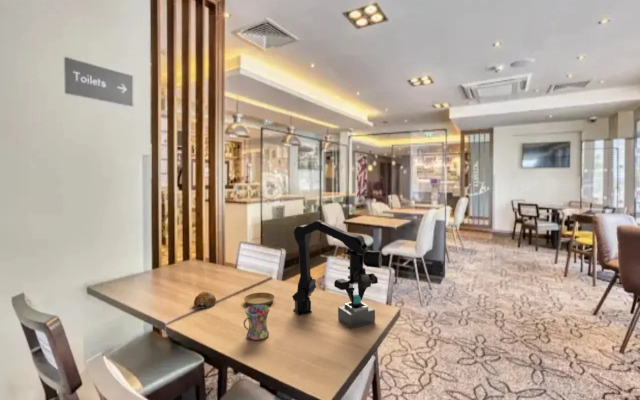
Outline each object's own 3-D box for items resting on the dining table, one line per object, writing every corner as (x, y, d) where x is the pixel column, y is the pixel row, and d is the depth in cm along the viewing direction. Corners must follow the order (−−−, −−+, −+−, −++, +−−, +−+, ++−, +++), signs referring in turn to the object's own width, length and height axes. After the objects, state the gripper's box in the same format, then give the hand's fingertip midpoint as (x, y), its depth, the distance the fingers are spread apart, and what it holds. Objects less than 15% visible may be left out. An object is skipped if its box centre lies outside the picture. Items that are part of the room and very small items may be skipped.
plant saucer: (250, 296, 169) (250, 291, 169) (278, 298, 167) (278, 293, 166) (239, 307, 154) (239, 302, 154) (269, 309, 152) (269, 304, 152)
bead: (354, 306, 136) (354, 297, 136) (349, 303, 140) (349, 294, 139) (362, 304, 138) (362, 295, 138) (357, 301, 142) (357, 292, 141)
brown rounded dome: (217, 311, 159) (222, 294, 162) (203, 309, 151) (208, 291, 153) (202, 307, 163) (207, 291, 166) (187, 306, 155) (192, 288, 157)
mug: (257, 328, 133) (256, 302, 133) (274, 333, 129) (274, 307, 128) (235, 341, 123) (234, 313, 122) (253, 347, 118) (253, 319, 118)
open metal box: (351, 329, 132) (351, 312, 132) (338, 319, 141) (338, 303, 140) (374, 322, 138) (374, 306, 137) (361, 313, 147) (361, 298, 146)
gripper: (348, 273, 126) (348, 312, 127) (386, 266, 135) (385, 303, 136) (333, 266, 136) (333, 302, 137) (369, 260, 145) (369, 295, 146)
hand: (356, 301), depth 139 cm, fingers closed on bead, 4 cm apart
